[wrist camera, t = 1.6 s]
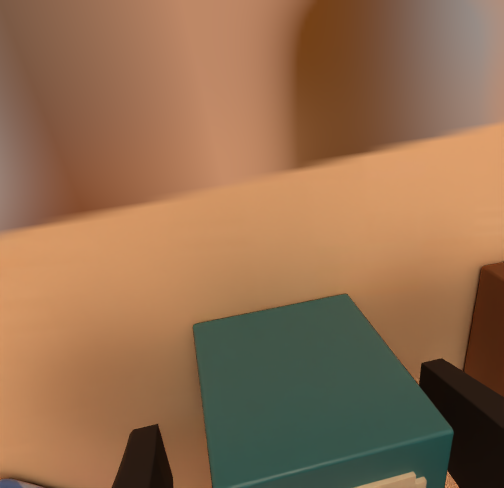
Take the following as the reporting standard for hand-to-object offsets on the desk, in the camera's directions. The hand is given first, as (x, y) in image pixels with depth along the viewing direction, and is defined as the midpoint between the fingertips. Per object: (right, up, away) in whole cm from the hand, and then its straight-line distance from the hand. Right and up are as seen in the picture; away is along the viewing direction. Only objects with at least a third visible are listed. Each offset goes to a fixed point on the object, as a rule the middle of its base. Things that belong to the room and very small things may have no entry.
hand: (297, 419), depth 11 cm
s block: (0, +1, +2) cm, 2 cm away
